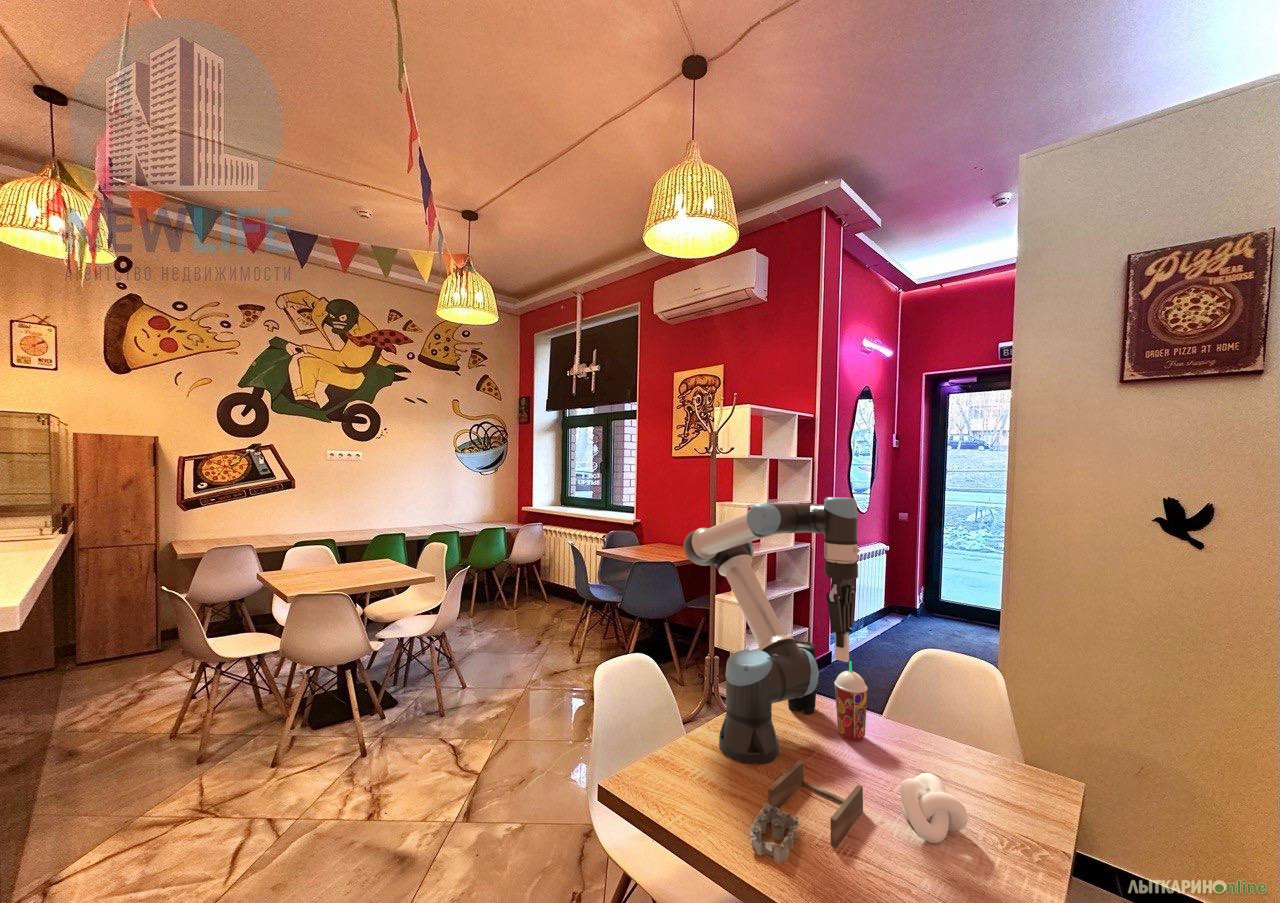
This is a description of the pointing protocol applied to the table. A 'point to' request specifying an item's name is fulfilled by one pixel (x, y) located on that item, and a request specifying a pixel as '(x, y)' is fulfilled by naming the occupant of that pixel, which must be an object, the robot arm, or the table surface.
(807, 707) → the portable speaker
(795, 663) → the robot arm
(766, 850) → the egg carton
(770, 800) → the brown u-shaped frame
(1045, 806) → the table surface
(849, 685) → the smoothie
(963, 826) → the white knot sculpture
